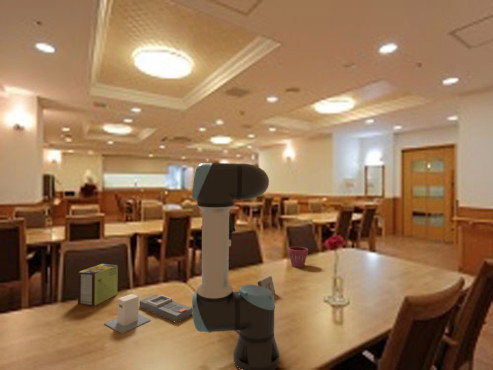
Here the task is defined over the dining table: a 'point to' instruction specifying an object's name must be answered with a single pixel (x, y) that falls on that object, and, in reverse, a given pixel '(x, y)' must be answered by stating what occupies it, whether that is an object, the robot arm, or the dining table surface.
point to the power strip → (166, 307)
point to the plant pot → (298, 256)
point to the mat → (123, 329)
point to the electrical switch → (267, 284)
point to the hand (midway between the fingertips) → (217, 244)
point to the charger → (127, 309)
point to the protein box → (97, 284)
